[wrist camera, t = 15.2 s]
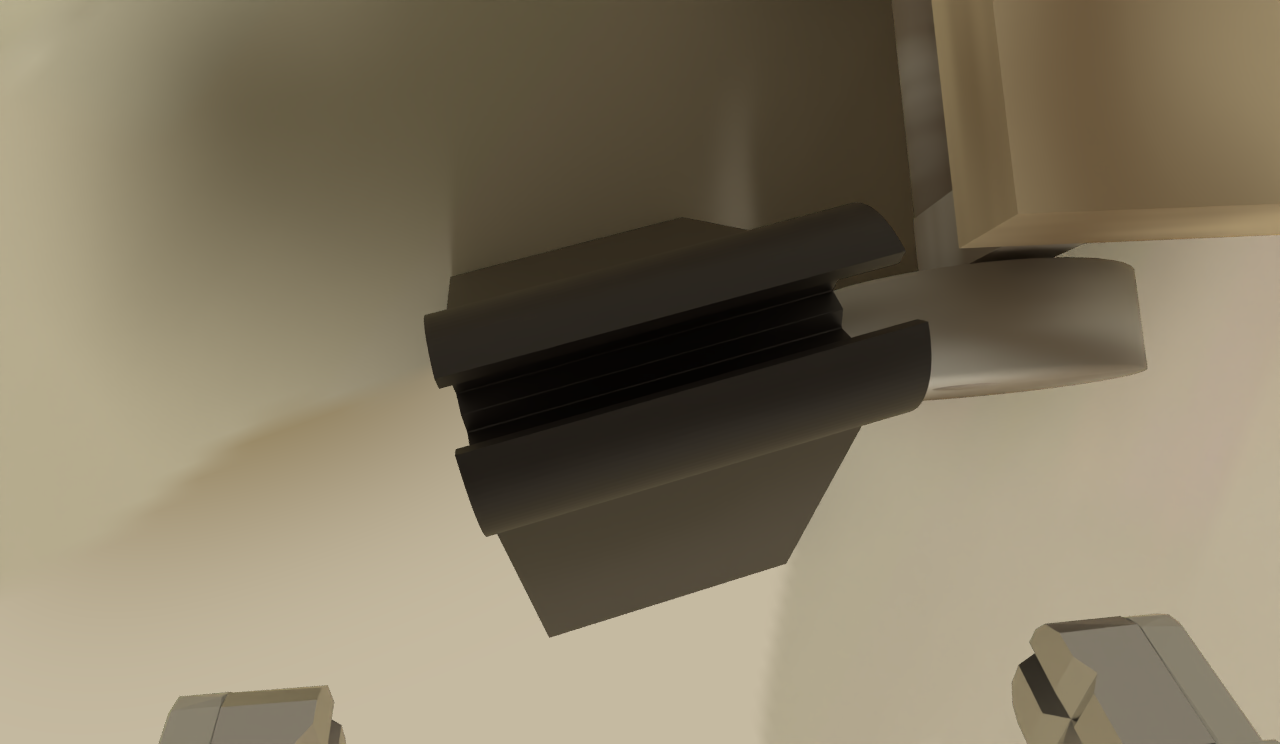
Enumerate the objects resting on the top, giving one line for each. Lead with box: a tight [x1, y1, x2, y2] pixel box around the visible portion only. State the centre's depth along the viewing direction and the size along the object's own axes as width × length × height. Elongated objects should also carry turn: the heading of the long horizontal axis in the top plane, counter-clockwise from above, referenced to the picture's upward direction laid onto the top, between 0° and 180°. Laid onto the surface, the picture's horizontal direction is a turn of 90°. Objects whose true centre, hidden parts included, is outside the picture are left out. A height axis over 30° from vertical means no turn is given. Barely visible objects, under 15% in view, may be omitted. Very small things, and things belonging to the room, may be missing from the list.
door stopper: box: [424, 203, 932, 637], centre depth 17 cm, size 9×6×12 cm, turn 16°
